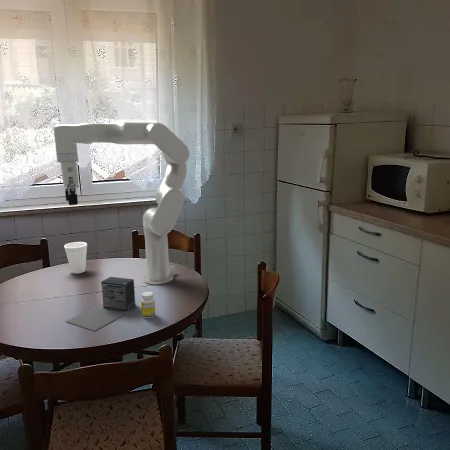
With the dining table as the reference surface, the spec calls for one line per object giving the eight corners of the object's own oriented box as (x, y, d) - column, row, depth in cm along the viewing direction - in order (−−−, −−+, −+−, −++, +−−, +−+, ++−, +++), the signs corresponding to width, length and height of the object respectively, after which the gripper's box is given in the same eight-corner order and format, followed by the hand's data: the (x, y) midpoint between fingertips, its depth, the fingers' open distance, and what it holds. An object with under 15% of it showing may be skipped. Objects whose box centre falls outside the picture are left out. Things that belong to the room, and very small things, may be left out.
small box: (136, 304, 167) (134, 278, 164) (127, 311, 161) (125, 284, 158) (112, 301, 170) (110, 275, 168) (102, 308, 164) (100, 281, 162)
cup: (68, 269, 207) (65, 242, 204) (90, 267, 209) (87, 241, 206) (65, 276, 197) (62, 248, 194) (89, 274, 200) (86, 246, 197)
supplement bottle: (142, 313, 159) (141, 291, 157) (156, 312, 160) (154, 290, 158) (141, 319, 155) (140, 296, 153) (155, 318, 155) (153, 296, 153)
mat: (96, 307, 165) (96, 306, 165) (124, 315, 158) (124, 314, 158) (66, 322, 153) (65, 321, 153) (94, 331, 146) (94, 330, 146)
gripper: (81, 159, 160) (85, 205, 164) (74, 155, 175) (78, 198, 179) (59, 160, 157) (63, 207, 161) (54, 156, 172) (59, 200, 176)
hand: (71, 202), depth 170 cm, fingers open, 9 cm apart
